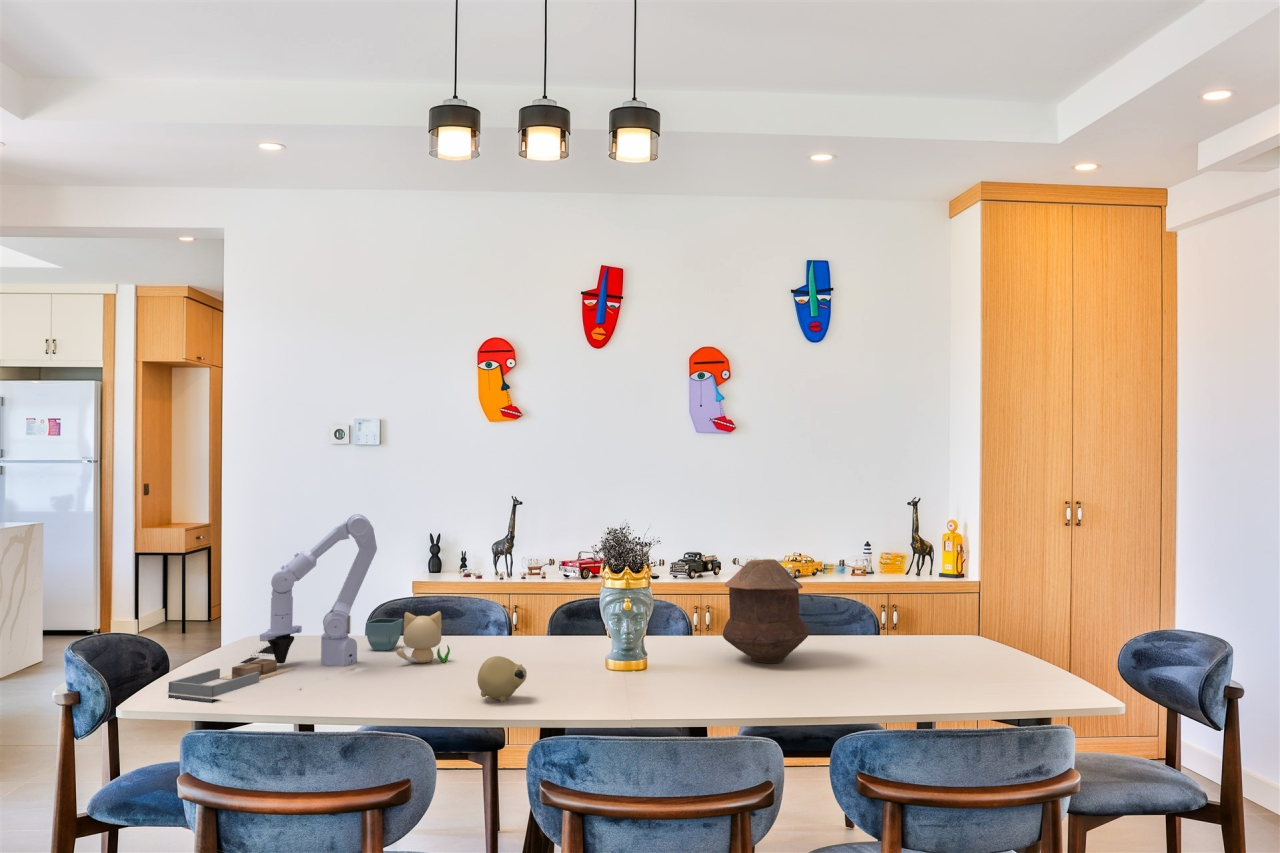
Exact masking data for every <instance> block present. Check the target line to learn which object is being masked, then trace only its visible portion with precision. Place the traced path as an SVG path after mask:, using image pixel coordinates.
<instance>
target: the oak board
mask: <svg viewBox="0 0 1280 853" xmlns="http://www.w3.org/2000/svg"><path fill="white" fill-rule="evenodd" d="M295 670H296V669H295V668H290V667H289V668H288V667H287V668H286V667H277V671H275V672H272V673H269V674H265V675H261V676H259V682H261V681H264V680H266V679H270V678H273V677H276V676H278V675H280V676H281V675H282V674H286V673H289V672H292V671H295ZM221 678H224V679H232V674H229V675H226V676H223V677H221Z"/></svg>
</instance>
